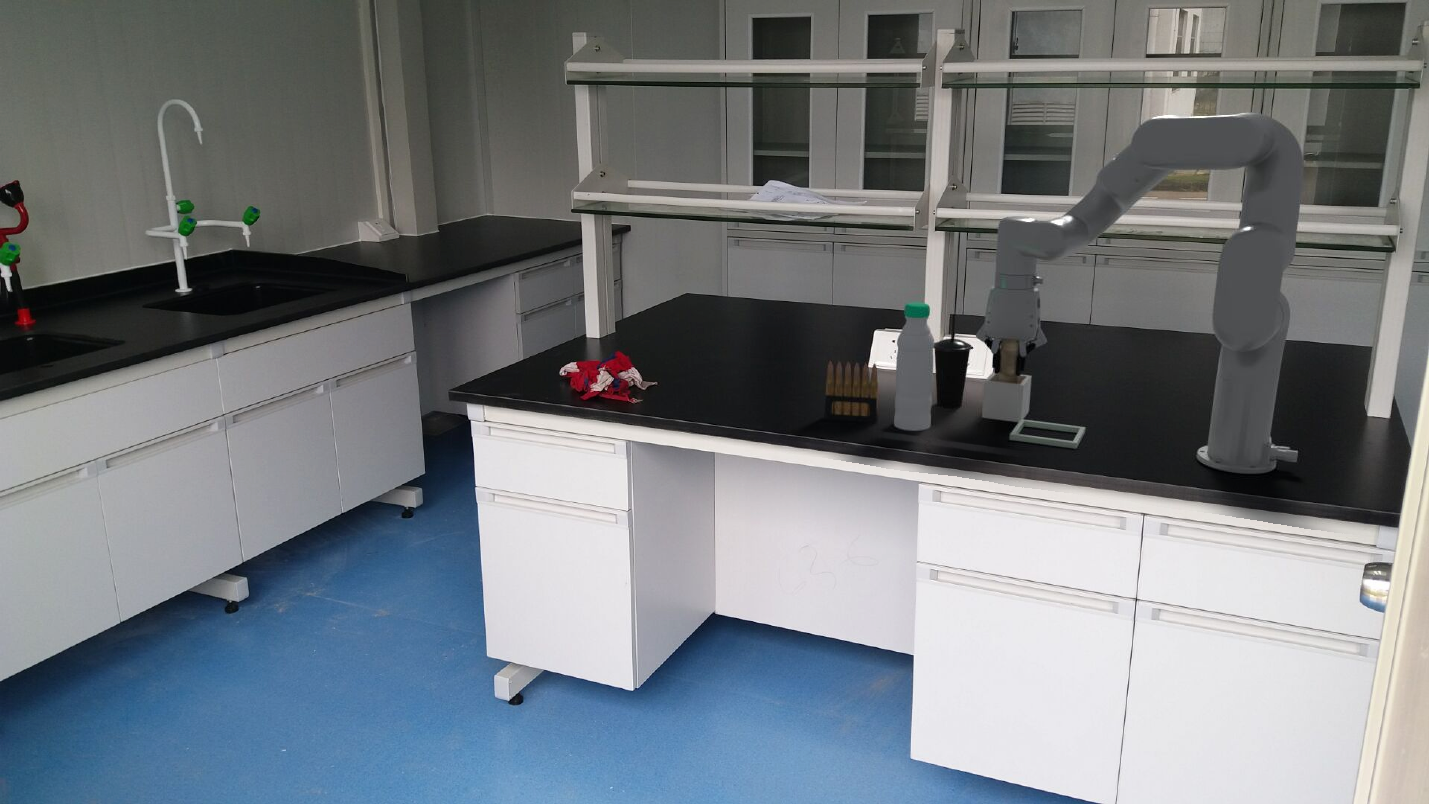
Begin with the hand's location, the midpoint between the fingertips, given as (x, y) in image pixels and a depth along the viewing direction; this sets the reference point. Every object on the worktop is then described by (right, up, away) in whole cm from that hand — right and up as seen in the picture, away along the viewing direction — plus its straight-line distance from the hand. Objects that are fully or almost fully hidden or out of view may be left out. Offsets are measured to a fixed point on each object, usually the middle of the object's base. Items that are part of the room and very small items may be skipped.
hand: (1008, 372), depth 208 cm
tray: (+4, -13, -10) cm, 17 cm away
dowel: (0, -8, +3) cm, 9 cm away
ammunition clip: (-31, -10, +4) cm, 32 cm away
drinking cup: (-10, -8, +10) cm, 16 cm away
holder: (0, -9, +3) cm, 10 cm away
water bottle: (-20, -11, -2) cm, 23 cm away
